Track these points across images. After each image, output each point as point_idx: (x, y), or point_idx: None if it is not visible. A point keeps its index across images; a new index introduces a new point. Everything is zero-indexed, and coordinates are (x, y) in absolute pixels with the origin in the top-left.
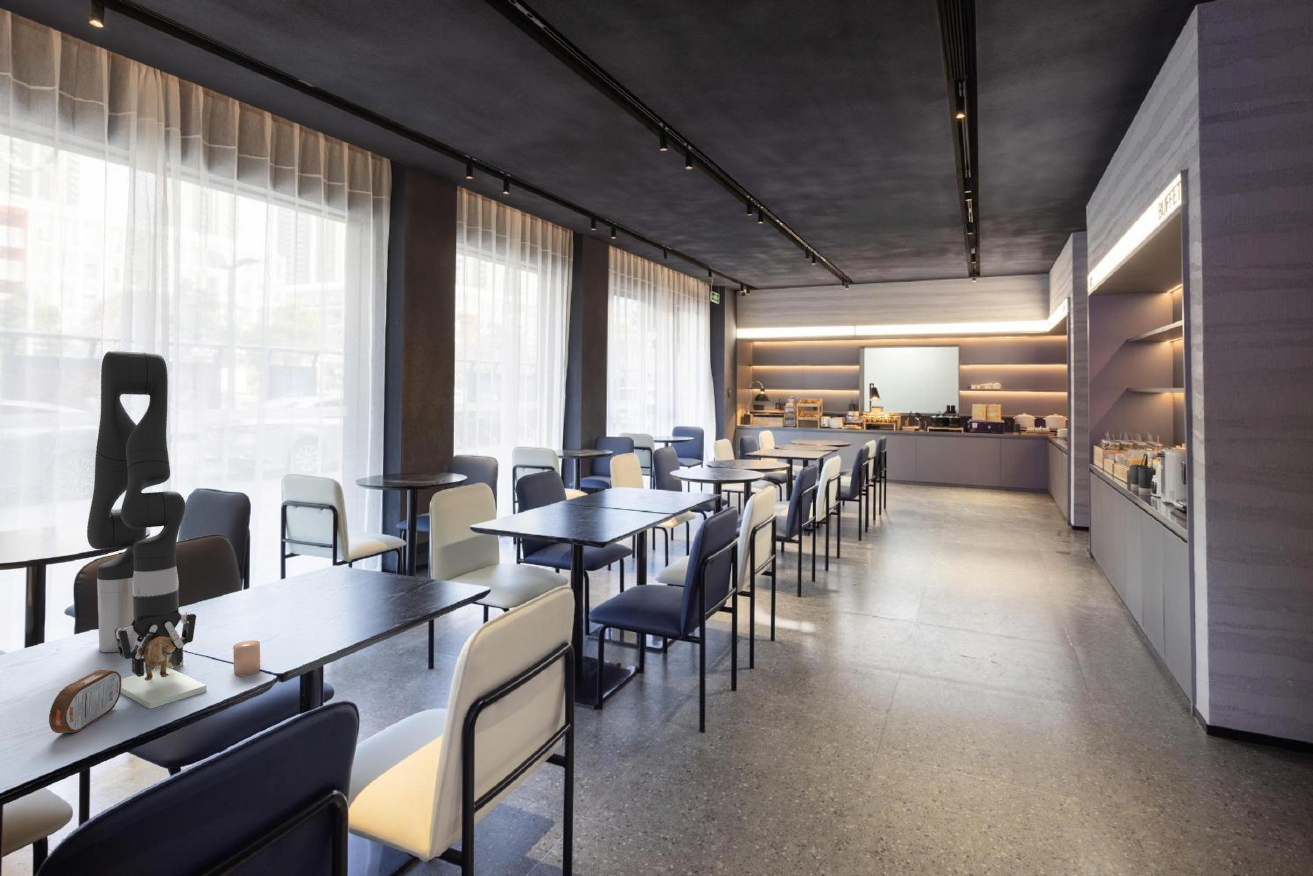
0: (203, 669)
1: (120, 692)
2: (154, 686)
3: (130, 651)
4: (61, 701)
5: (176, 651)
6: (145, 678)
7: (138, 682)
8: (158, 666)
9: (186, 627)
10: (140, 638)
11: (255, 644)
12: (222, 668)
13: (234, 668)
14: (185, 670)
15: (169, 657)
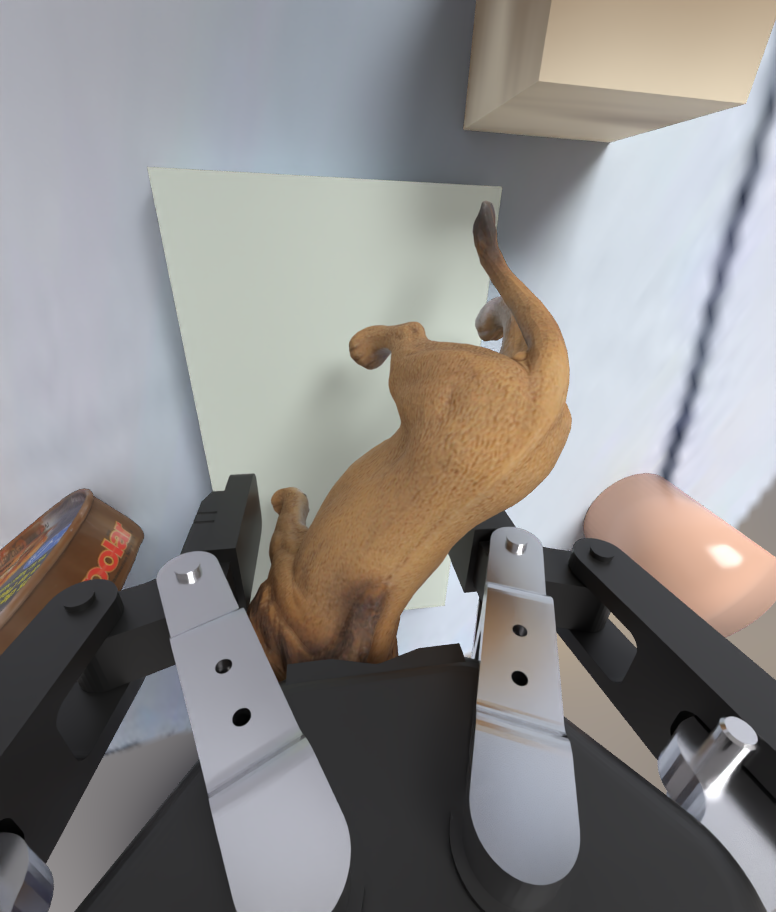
0: (590, 343)
1: (141, 541)
2: (315, 478)
3: (122, 709)
4: None
5: (461, 582)
6: (273, 507)
7: (278, 357)
8: (481, 121)
9: (647, 706)
10: (232, 665)
11: (732, 626)
12: (626, 406)
13: (602, 530)
14: (548, 272)
15: (502, 319)
